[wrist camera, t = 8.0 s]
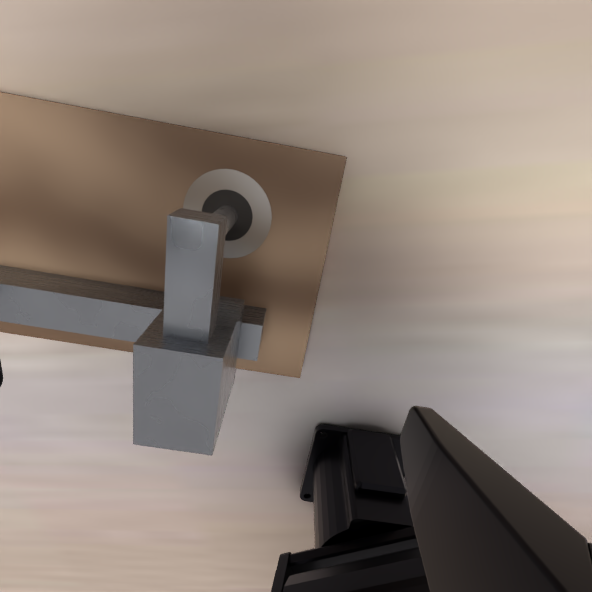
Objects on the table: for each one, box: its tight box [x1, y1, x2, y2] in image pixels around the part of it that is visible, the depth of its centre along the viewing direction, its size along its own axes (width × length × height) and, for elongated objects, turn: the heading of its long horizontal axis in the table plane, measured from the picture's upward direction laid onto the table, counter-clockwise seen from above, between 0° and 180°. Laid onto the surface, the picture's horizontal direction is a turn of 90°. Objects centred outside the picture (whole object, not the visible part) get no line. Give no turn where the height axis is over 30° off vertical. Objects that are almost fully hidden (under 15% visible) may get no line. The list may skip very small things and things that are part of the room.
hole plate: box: [0, 92, 347, 378], centre depth 18 cm, size 12×25×1 cm, turn 80°
